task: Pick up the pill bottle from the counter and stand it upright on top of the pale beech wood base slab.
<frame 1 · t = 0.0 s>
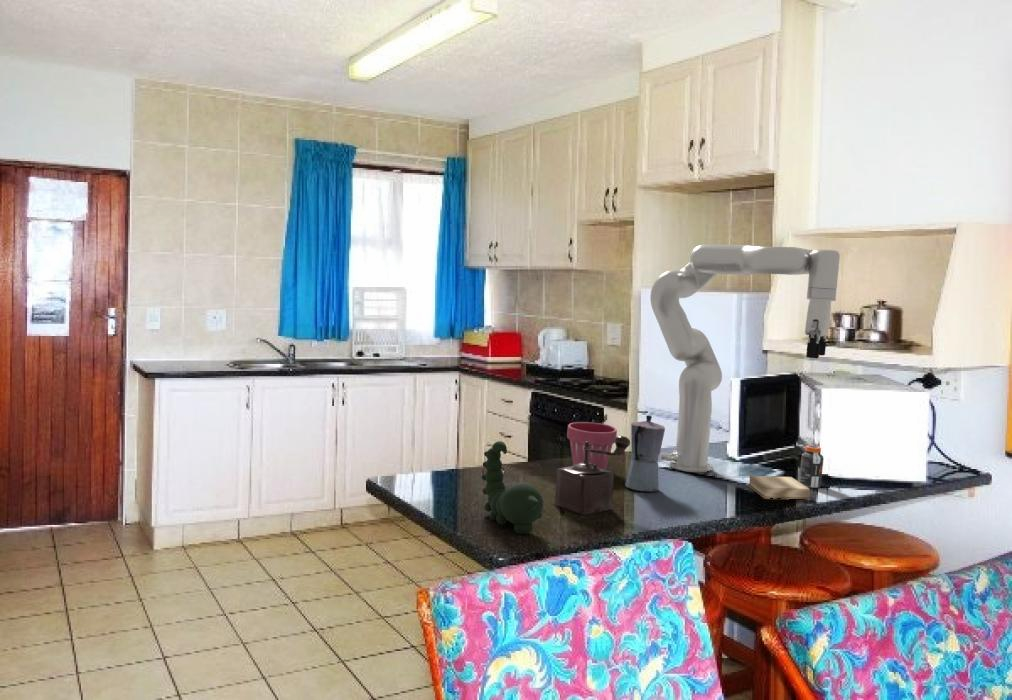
hand: (815, 356, 243), 37 cm above the counter, tool pointing down, fingers open, 9 cm apart
plant pot: (589, 470, 254), on the counter
moka pot: (642, 489, 237), on the counter
toy figurine: (510, 525, 200), on the counter
base: (778, 492, 240), on the counter
pill bottle: (809, 485, 250), on the counter
coffee grinder: (591, 506, 218), on the counter
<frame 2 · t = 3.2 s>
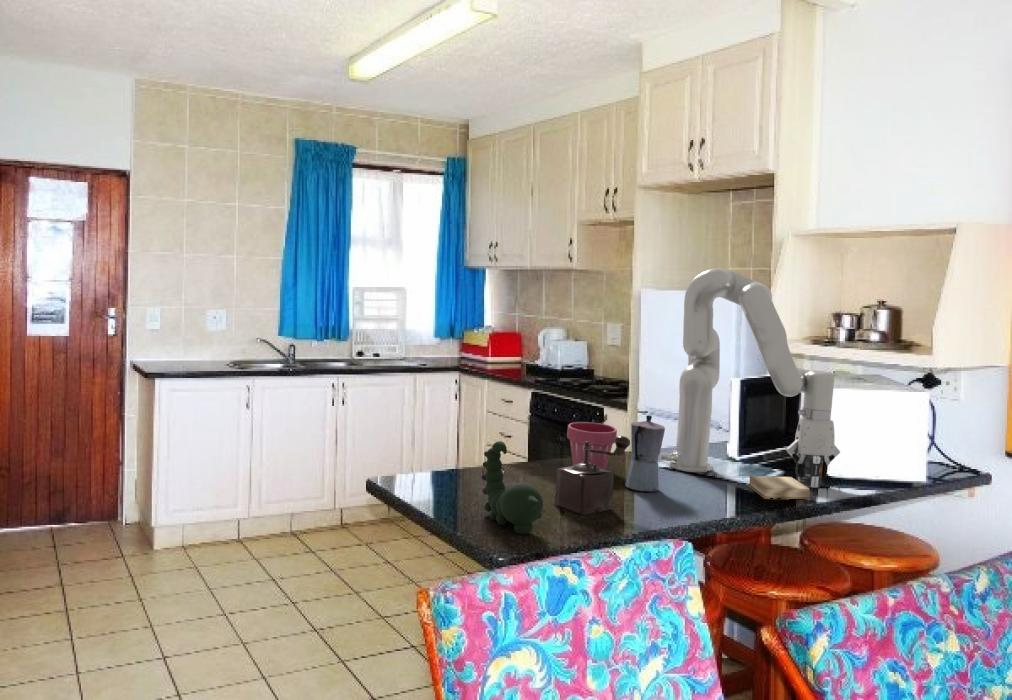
hand: (810, 476, 250), 3 cm above the counter, tool pointing down, fingers closed on pill bottle, 6 cm apart
pill bottle: (809, 485, 250), on the counter, touching gripper
everything else where it was.
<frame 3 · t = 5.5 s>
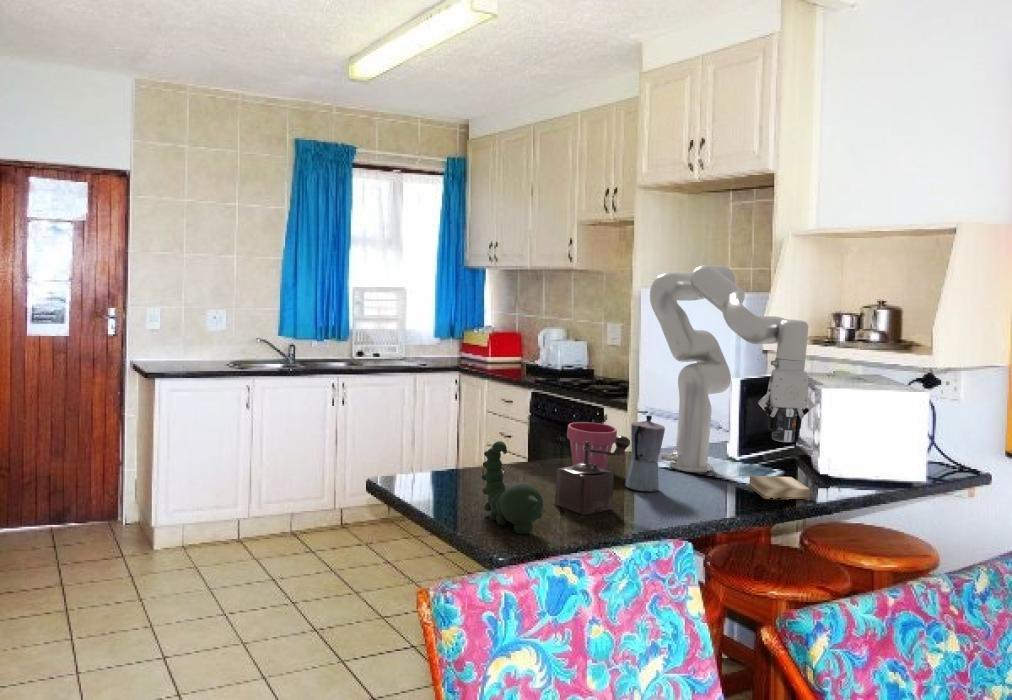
hand: (783, 430, 238), 17 cm above the counter, tool pointing down, fingers closed on pill bottle, 6 cm apart
pill bottle: (782, 440, 239), point 14 cm above the counter, touching gripper
everything else where it was.
when the fingers open (7 cm above the counter, at t = 8.2 s): pill bottle drops 1 cm, resting on base.
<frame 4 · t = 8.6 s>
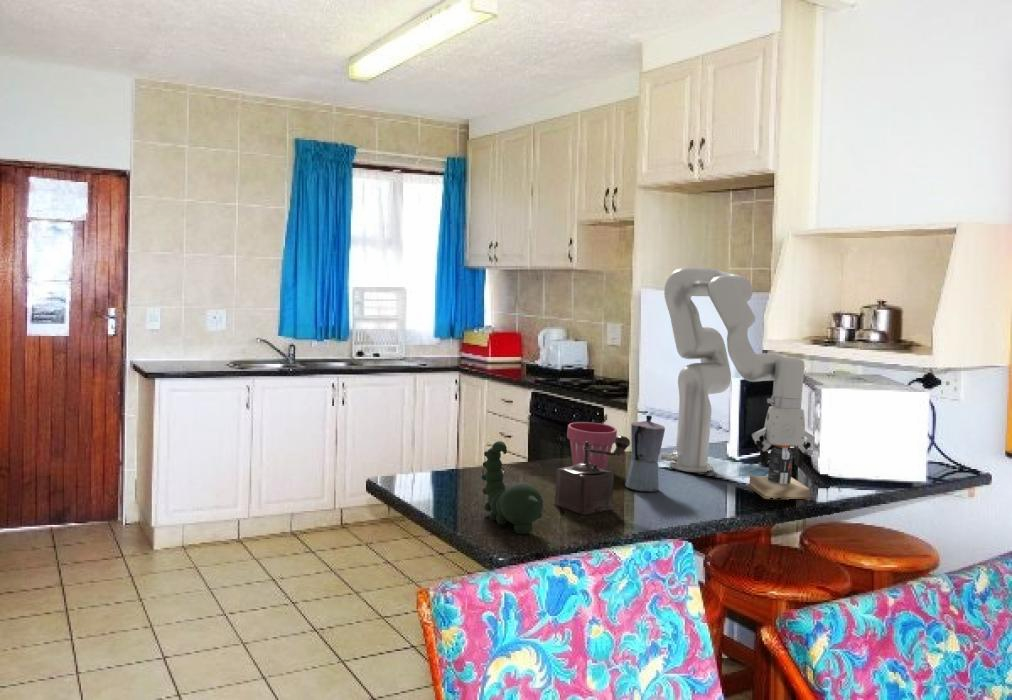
hand: (780, 465, 239), 8 cm above the counter, tool pointing down, fingers open, 9 cm apart
pill bottle: (778, 482, 240), point 3 cm above the counter, touching base
everything else where it was.
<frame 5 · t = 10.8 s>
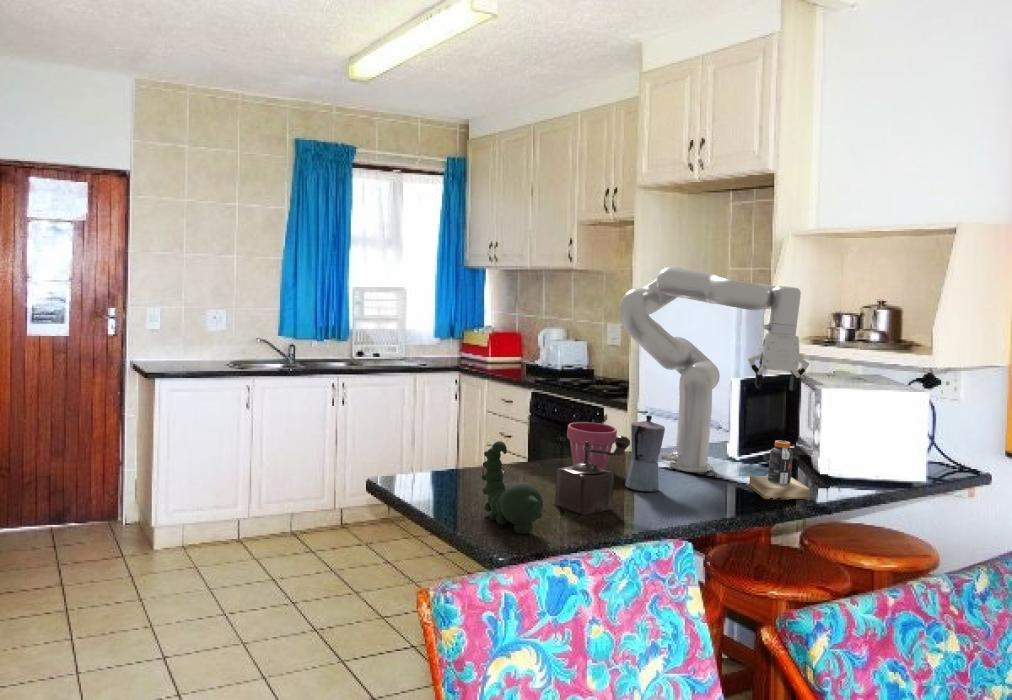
hand: (775, 389, 251), 26 cm above the counter, tool pointing down, fingers open, 9 cm apart
nothing on the counter moved.
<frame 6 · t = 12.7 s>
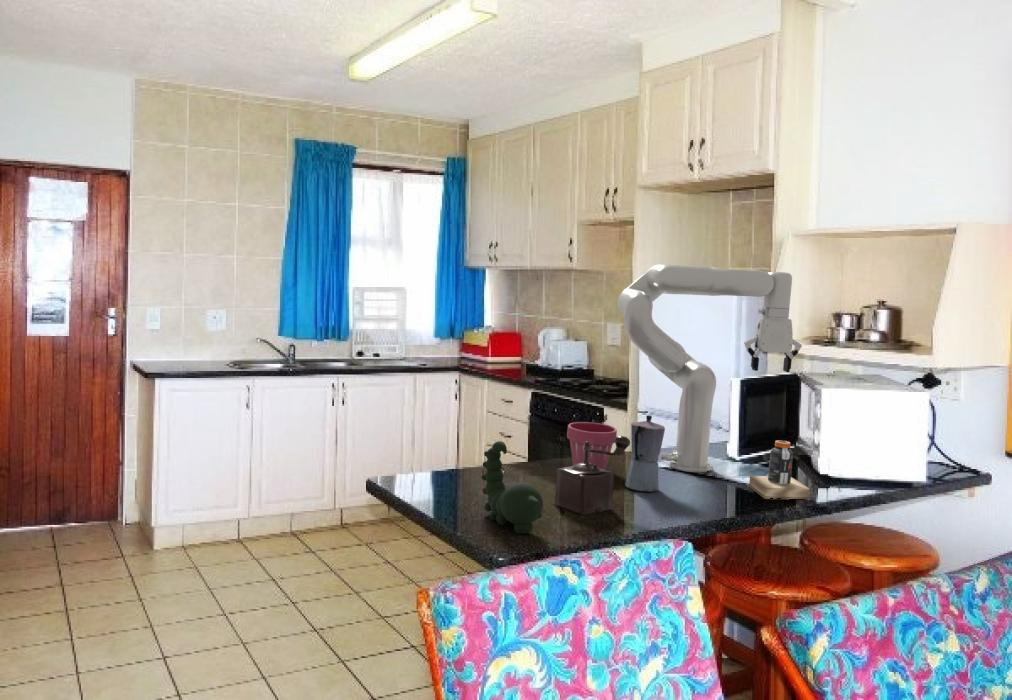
hand: (770, 370, 262), 30 cm above the counter, tool pointing down, fingers open, 9 cm apart
nothing on the counter moved.
at the end: pill bottle 0.1 cm from the base (horizontally); pill bottle point 2.8 cm above the counter; pill bottle tilted 0° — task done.
